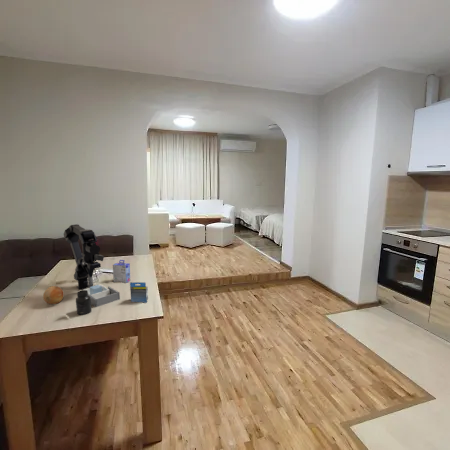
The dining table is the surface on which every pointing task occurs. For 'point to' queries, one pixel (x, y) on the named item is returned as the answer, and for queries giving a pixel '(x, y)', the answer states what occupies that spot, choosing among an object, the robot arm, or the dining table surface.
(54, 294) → the onion
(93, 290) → the light blue cube
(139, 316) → the dining table surface
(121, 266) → the ink cartridge box
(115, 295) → the bay
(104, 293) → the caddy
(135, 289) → the label tape cartridge
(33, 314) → the dining table surface
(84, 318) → the dining table surface
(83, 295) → the supplement bottle
